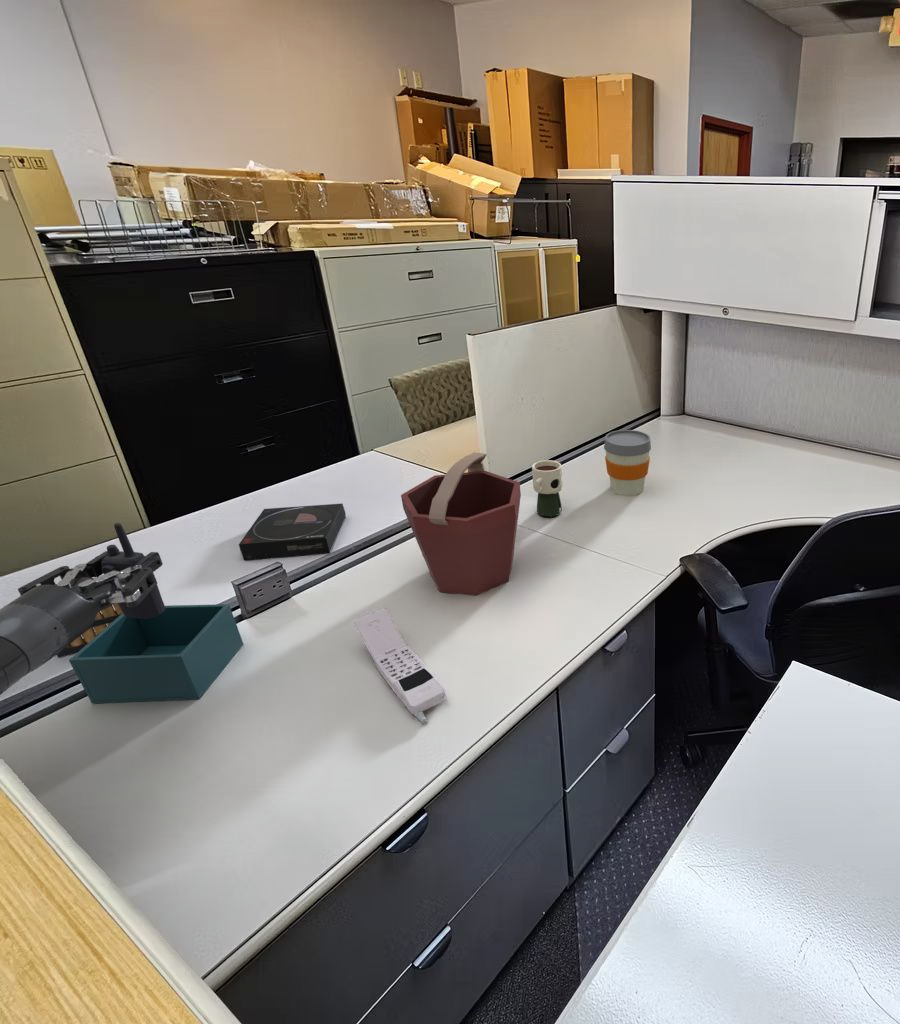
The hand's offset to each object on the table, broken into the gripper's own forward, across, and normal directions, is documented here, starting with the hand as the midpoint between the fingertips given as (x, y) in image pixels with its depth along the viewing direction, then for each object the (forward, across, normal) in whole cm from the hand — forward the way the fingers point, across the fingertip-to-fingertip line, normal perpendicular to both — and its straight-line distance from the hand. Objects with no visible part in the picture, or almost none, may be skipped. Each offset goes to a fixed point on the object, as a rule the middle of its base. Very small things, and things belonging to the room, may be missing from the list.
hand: (134, 557), depth 88 cm
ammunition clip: (+10, +20, +24) cm, 33 cm away
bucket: (+33, -38, +23) cm, 55 cm away
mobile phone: (+2, -33, +24) cm, 41 cm away
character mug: (+60, -49, +23) cm, 81 cm away
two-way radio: (-3, 0, +9) cm, 9 cm away
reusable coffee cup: (+76, -68, +23) cm, 104 cm away
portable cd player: (+46, +5, +24) cm, 52 cm away
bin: (+2, +4, +24) cm, 24 cm away
